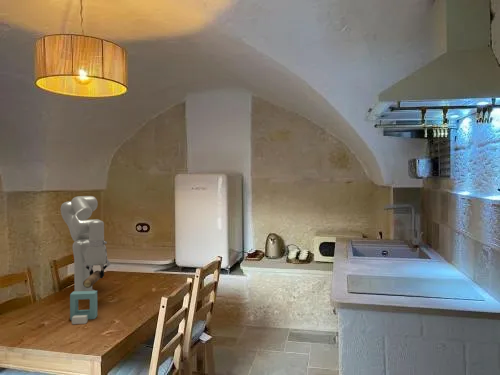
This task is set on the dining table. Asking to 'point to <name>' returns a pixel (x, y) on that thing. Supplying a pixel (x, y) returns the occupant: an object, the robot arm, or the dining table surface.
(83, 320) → the block
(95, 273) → the dowel
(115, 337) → the dining table surface
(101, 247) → the robot arm
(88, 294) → the teal square frame
